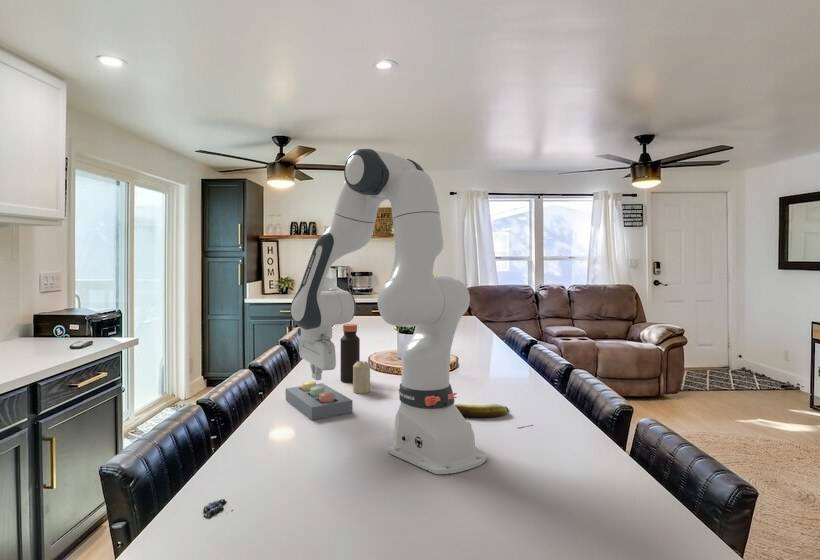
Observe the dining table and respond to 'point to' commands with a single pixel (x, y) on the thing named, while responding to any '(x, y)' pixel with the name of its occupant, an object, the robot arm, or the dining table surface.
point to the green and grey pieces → (482, 411)
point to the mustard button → (308, 385)
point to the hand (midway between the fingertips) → (316, 379)
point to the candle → (361, 377)
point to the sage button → (316, 391)
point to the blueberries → (214, 508)
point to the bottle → (349, 351)
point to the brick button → (326, 397)
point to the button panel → (318, 403)
